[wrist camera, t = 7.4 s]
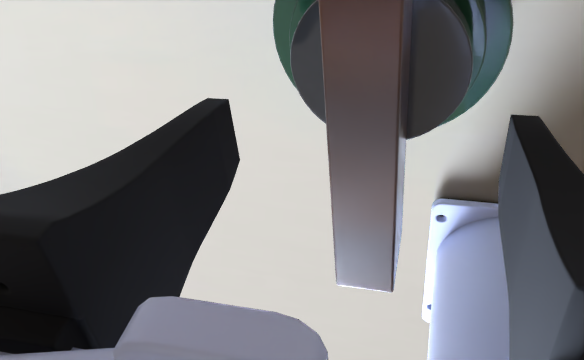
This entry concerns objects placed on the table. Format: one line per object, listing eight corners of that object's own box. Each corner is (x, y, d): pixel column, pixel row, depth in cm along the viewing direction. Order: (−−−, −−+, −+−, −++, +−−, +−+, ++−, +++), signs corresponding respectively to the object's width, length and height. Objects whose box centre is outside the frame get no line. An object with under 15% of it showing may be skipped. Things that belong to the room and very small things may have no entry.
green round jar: (492, 89, 23) (496, 180, 18) (305, 81, 25) (269, 161, 20) (525, -126, 18) (542, -73, 13) (288, -115, 20) (235, -65, 15)
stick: (401, 232, 21) (393, 293, 19) (350, 227, 22) (335, 286, 19) (422, -214, 12) (411, -197, 10) (334, -206, 13) (305, -188, 11)
